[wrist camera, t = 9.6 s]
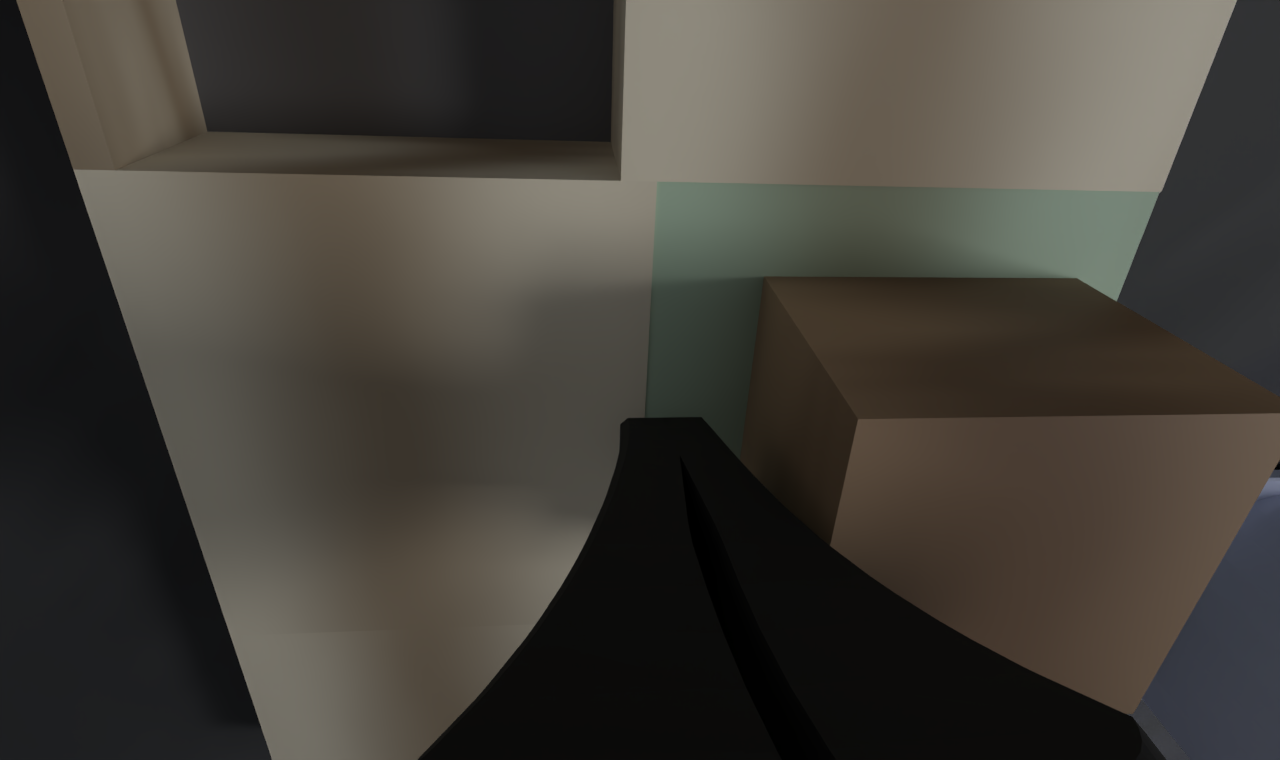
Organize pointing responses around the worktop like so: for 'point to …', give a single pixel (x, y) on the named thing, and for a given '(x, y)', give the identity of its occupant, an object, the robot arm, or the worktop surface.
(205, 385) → the trap board
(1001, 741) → the robot arm
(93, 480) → the worktop surface
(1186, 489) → the walnut block
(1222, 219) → the worktop surface
